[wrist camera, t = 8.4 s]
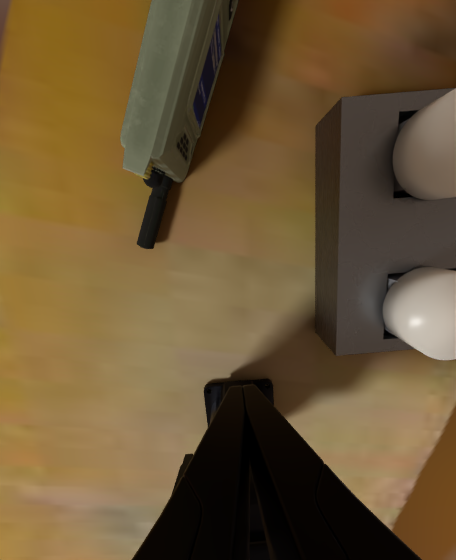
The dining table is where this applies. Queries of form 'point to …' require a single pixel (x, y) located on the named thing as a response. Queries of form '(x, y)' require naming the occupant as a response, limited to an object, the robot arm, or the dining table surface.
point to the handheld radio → (172, 95)
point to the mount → (370, 221)
